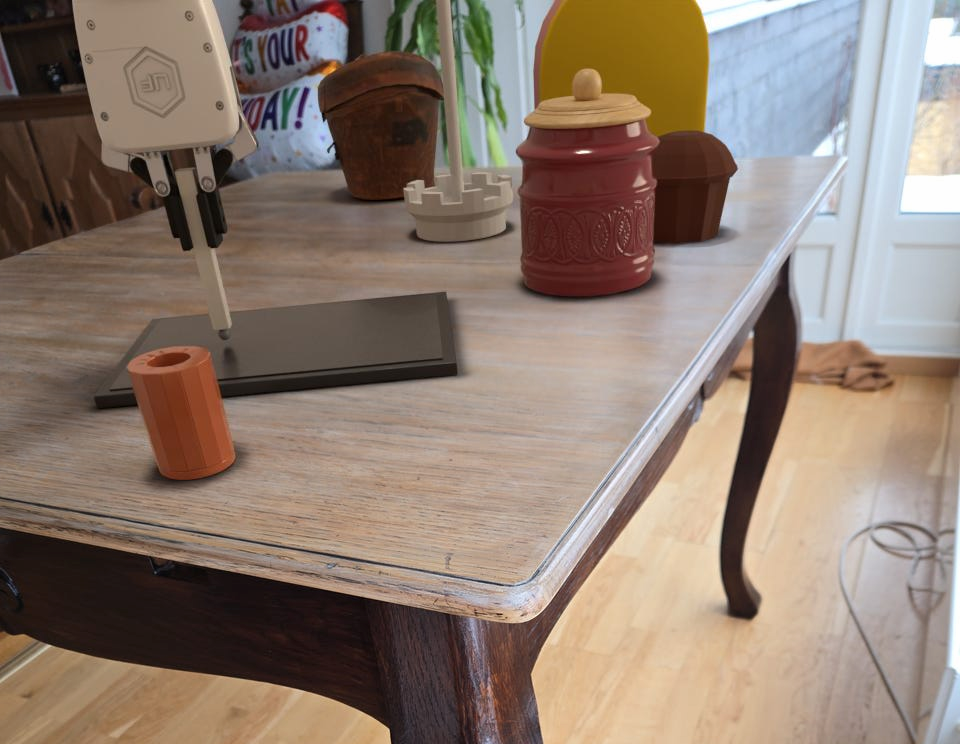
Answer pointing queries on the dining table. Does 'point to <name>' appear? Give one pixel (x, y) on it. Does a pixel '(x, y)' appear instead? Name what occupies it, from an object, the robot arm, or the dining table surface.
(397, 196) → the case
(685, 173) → the muffin
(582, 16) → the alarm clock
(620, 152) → the kitchen canister
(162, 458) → the pen pot
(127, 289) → the dining table surface
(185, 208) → the stylus
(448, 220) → the flag stand
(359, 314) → the tablet
